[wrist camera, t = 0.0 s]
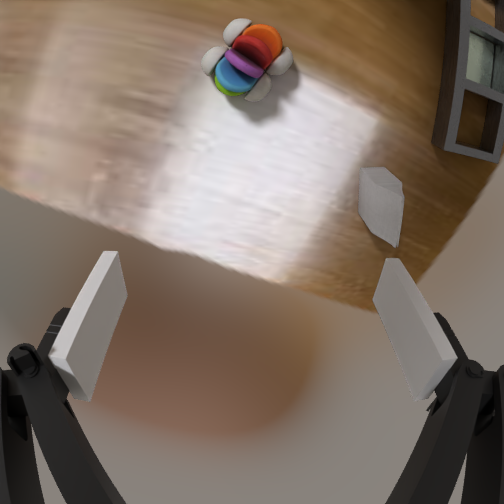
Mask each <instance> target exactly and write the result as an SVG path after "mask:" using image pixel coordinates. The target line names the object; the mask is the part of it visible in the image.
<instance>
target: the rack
mask: <svg viewBox="0 0 504 504" xmlns="http://www.w3.org/2000/svg"><path fill="white" fill-rule="evenodd" d="M470 9H471V0H447V11H446V34H445V48H444V59H443V69H442V78H441V86H440V93H439V100H438V107H437V113H436V119H435V125H434V131H433V136H432V141H431V143H432V144H434V145H436V146H437V147H439V148H441V149H442V150H445V151H450V152H454V153H458V154H463V155H467V156H471V157H475V158H479V159H482V160H486V161H490V162H494V163H497V164H498V163H499V159H500V155H501V150H502V146H503V142H504V0H495V28H494V27H492V26H490V25H488V24H486V23H485V22H483V21H481V20H479V19H477V18H475V17H473V16H471V15H470ZM470 32H472V33H474V34H476V35H474V34H472V33H470ZM477 35H478V36H477ZM479 36H480V37H479ZM481 37H482V38H481ZM483 38H484V39H483ZM485 39H486V40H485ZM487 40H488V41H487ZM489 41H490V42H489ZM491 42H492V43H491ZM493 43H494V44H493ZM493 55H494V56H493ZM492 67H493V68H492ZM491 76H492V77H491ZM464 90H466V91H469V92H471V93H474V94H477V95H479V96H482V97H484V98H487V99H489V100H488V106H487V112H486V118H485V124H484V129H483V134H482V139H481V143H480V147H478V146H475V145H471V144H468V143H464V142H460V141H456V137H457V132H458V127H459V121H460V115H461V109H462V103H463V96H464Z"/></svg>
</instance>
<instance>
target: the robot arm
mask: <svg viewBox="0 0 504 504" xmlns="http://www.w3.org/2000/svg"><path fill="white" fill-rule="evenodd" d="M127 296H128V295H127V291H126V287H125V283H124V278H123V274H122V269H121V264H120V260H119V255H118V251H104V252H103V253H102V255H101V257H100V258H99V260H98V262H97V263H96V265H95V267H94V268H93V270H92V272H91V274H90V275H89V277H88V279H87V281H86V282H85V284H84V286H83V288H82V290H81V291H80V293H79V295H78V297H77V299H76V301H75V303H74V304H73V306H72V308H62V309H61V310H60V311H59V312H58V313H57V314H56V315H55V316H54V318H53V320H52V322H51V323H50V326H49V327H48V329H47V332H46V333H45V335H44V337H43V339H42V341H41V343H40V344H39V346H38V348H37V350H36V349H35V348H34V346H32V345H31V344H27V343H23V344H19V345H17V346H16V347H14V348H13V349H12V350H11V351H10V353H9V355H8V357H7V363H8V365H9V366H10V368H11V369H12V370H2V369H1V367H0V504H45V503H44V498H43V494H42V490H41V485H40V481H39V475H38V470H37V464H36V458H35V452H34V444H33V437H32V428H31V424H32V427H33V430H34V432H35V435H36V438H37V440H38V442H39V445H40V448H41V450H42V453H43V455H44V457H45V460H46V462H47V464H48V467H49V469H50V471H51V473H52V475H53V477H54V479H55V482H56V484H57V486H58V488H59V489H60V492H61V494H62V496H63V498H64V499H65V501H66V503H67V504H126V503H125V501H124V500H123V498H122V497H121V495H120V494H119V492H118V491H117V489H116V487H115V486H114V484H113V483H112V481H111V480H110V478H109V477H108V475H107V473H106V472H105V470H104V468H103V467H102V465H101V463H100V462H99V460H98V458H97V456H96V455H95V453H94V451H93V449H92V447H91V446H90V444H89V442H88V440H87V438H86V436H85V434H84V432H83V431H82V429H81V426H80V424H79V423H78V420H77V418H76V416H75V414H74V412H73V410H72V408H71V406H70V404H69V402H68V400H67V399H66V398H67V395H68V393H69V392H70V393H71V394H72V396H73V398H74V399H79V400H84V401H89V402H90V401H91V398H92V394H93V391H94V388H95V385H96V382H97V379H98V375H99V372H100V370H101V366H102V364H103V360H104V358H105V355H106V351H107V349H108V346H109V343H110V341H111V338H112V335H113V332H114V330H115V327H116V324H117V321H118V319H119V316H120V314H121V311H122V308H123V305H124V303H125V301H126V298H127ZM373 302H374V305H375V307H376V309H377V311H378V314H379V316H380V318H381V320H382V323H383V325H384V327H385V330H386V332H387V334H388V337H389V339H390V342H391V344H392V346H393V349H394V351H395V354H396V356H397V359H398V361H399V364H400V366H401V369H402V371H403V374H404V377H405V379H406V382H407V384H408V387H409V390H410V392H411V395H412V398H413V401H418V400H423V399H427V398H429V396H430V395H431V394H432V393H433V391H435V393H436V395H437V397H436V398H435V400H434V401H433V402H432V403H431V405H430V406H429V407H428V409H427V411H429V409H431V410H430V412H429V415H428V417H427V420H426V422H425V425H424V427H423V430H422V432H421V434H420V436H419V439H418V441H417V443H416V446H415V447H414V450H413V452H412V454H411V456H410V458H409V460H408V462H407V464H406V466H405V468H404V470H403V472H402V474H401V476H400V478H399V480H398V482H397V484H396V486H395V487H394V489H393V491H392V493H391V495H390V496H389V498H388V500H387V502H386V503H385V504H448V502H449V499H450V497H451V495H452V492H453V490H454V487H455V484H456V482H457V479H458V476H459V474H460V471H461V468H462V465H463V462H464V459H465V456H466V453H467V460H466V471H465V479H464V486H463V493H462V499H461V504H504V365H502V366H500V368H499V369H498V370H497V372H494V371H486V370H484V369H483V367H482V366H481V365H480V364H479V363H478V362H476V361H474V360H469V359H468V357H467V356H466V354H465V352H464V350H463V348H462V346H461V345H460V343H459V341H458V339H457V337H456V336H455V334H454V332H453V330H451V327H450V325H449V323H448V322H447V320H446V319H445V318H444V317H443V316H442V315H441V314H440V313H433V312H432V310H431V309H430V307H429V305H428V304H427V302H426V300H425V299H424V297H423V295H422V294H421V292H420V290H419V289H418V287H417V286H416V284H415V282H414V281H413V279H412V278H411V276H410V274H409V273H408V271H407V270H406V268H405V267H404V265H403V264H402V262H401V261H400V259H399V258H386V260H385V263H384V266H383V270H382V273H381V276H380V279H379V282H378V285H377V288H376V291H375V294H374V297H373Z"/></svg>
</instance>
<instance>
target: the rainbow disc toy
mask: <svg viewBox="0 0 504 504" xmlns="http://www.w3.org/2000/svg"><path fill="white" fill-rule="evenodd" d="M251 24H252V21H250V20H248V19H235V20H233V21H232V22H231V23H230V24H229V25H228V26H227V27H226V29H225V30H224V33H223V37H224V41H225V43H226V44H227V45H228V46H229V47H231V46H232V49H230V50H229V49H228V48H227V47H222V46H218V47H213V48H211V49H210V50H209V51H208V52H207V53H206V54H205V56H204V57H203V59H202V61H201V66H202V70H203V71H204V73H205V74H206V75H207V76H210V75H211V74H212V73H213V72H214V71H215V74H214V76H215V84H216V86H217V88H218V89H219V91H221V92H222V93H223V94H225V95H228V96H238V95H241V94H244V93H246V92H247V91H248V93H247V94H246V95H245V97H244V99H245V100H247V101H252V102H256V101H260V100H262V99H263V98H264V97H265V96H266V95H267V94H268V92H269V91H270V90H271V87H272V83H271V79H270V77H269V75H281V74H283V73H284V72H285V71H286V70H287V69H288V68H289V67H290V66H291V65H292V63H293V55H292V52H291V51H290V49H289V48H288V47H286V48H284V49H283V50H282V39H281V36H280V34H279V33H278V32H277V30H276V29H275V28H273V27H271V26H268V25H263V24H257V25H253V26H250V25H251ZM281 50H282V51H281ZM215 69H216V70H215ZM264 69H266V70H265V72H264V73H263V71H264ZM268 74H269V75H268Z"/></svg>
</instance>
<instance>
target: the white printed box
mask: <svg viewBox="0 0 504 504" xmlns="http://www.w3.org/2000/svg"><path fill="white" fill-rule="evenodd" d="M404 197H405V196H404V195H403V192H402V182H401V181H400V180H399V179H397V178H396V177H395V176H394V175H393V174H392V173H391V172H389V171H388V170H387V169H386V168H385V167H369V168H360V175H359V202H358V213H359V214H360V216H361V217H362V219H363V220H364V222H365V223H366V225H367V226H368V228H369V229H370V231H371V232H372V233H373V234H375V235H376V236H378V237H380V238H382V239H383V240H385V241H387V242H388V243H389V244H391V245H392V246H393V247H395V248H396V245H397V247H398V244H399V237H400V230H401V223H402V215H403V207H404Z"/></svg>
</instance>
